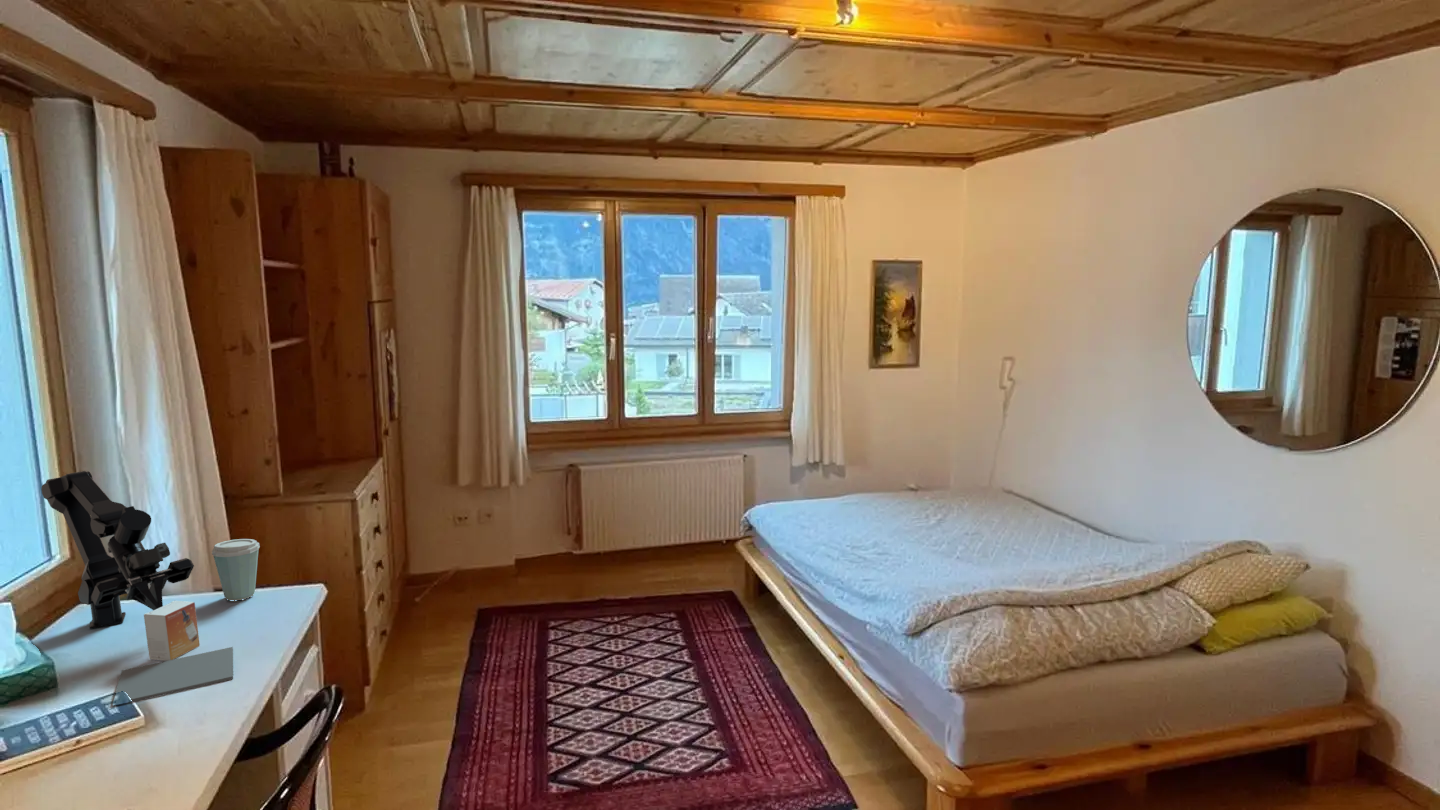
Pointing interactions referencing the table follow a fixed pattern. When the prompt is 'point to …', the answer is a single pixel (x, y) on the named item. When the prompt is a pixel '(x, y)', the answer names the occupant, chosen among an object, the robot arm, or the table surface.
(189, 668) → the charcoal mat
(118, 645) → the table surface
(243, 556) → the disposable coffee cup
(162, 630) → the small box
